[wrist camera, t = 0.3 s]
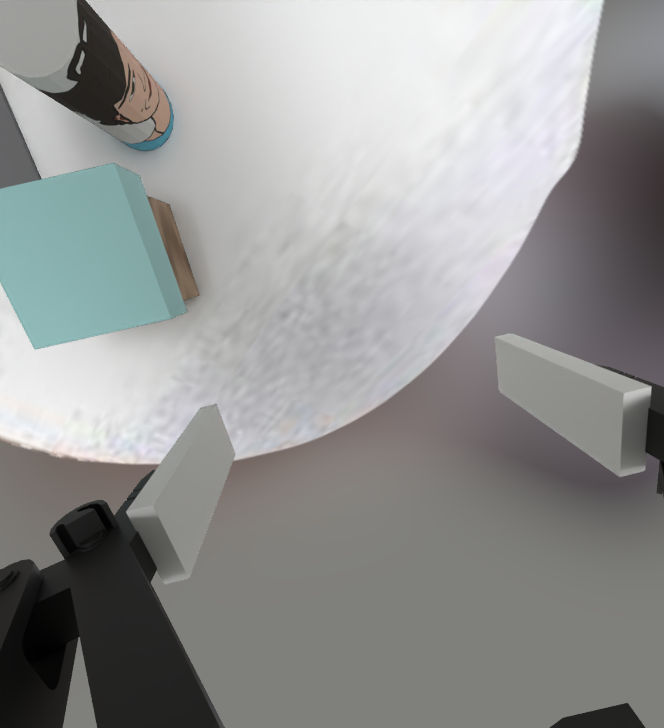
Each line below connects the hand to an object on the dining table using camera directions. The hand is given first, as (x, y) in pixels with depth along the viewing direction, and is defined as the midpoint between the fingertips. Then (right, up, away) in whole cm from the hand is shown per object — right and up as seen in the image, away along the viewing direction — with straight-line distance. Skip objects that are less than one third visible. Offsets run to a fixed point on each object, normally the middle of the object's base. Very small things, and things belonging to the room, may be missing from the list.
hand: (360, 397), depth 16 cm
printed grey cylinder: (-21, +27, +19) cm, 39 cm away
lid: (-23, +11, +16) cm, 30 cm away
